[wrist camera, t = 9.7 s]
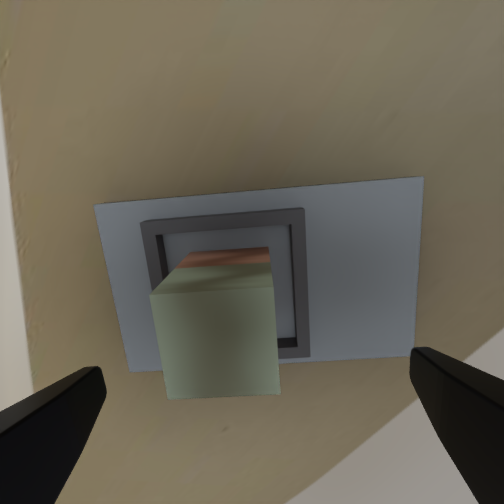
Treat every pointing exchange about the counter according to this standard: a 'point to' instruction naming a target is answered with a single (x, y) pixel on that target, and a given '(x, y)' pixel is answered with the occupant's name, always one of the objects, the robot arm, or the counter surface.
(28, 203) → the counter surface
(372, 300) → the nest board
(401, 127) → the counter surface
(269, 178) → the counter surface
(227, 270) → the brick stack
